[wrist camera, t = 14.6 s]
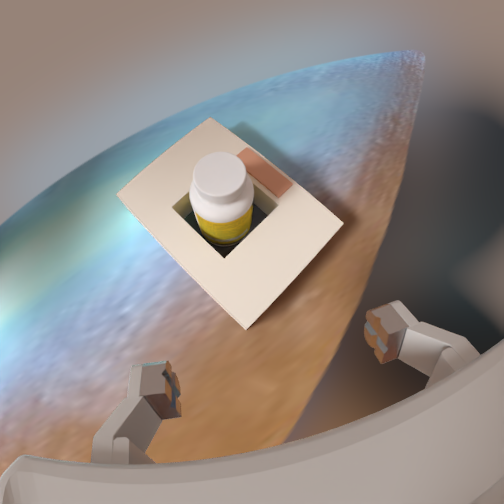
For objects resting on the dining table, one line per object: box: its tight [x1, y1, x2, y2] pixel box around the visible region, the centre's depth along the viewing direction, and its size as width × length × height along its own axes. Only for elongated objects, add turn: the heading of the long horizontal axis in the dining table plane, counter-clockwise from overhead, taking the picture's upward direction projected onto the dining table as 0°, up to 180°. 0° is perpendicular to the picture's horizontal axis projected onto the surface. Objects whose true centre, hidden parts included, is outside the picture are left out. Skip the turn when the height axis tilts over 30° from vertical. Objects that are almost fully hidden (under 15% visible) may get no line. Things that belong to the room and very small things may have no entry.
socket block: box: [116, 117, 344, 330], centre depth 28 cm, size 18×13×4 cm
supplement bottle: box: [189, 152, 254, 246], centre depth 26 cm, size 5×5×10 cm
